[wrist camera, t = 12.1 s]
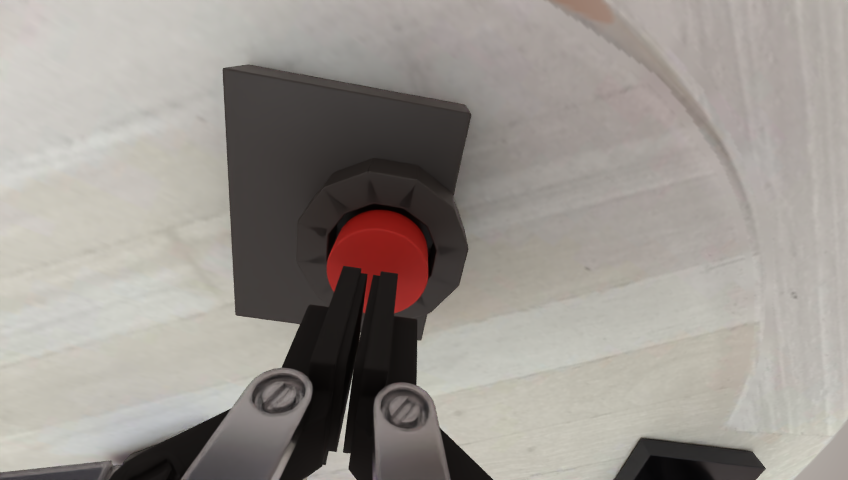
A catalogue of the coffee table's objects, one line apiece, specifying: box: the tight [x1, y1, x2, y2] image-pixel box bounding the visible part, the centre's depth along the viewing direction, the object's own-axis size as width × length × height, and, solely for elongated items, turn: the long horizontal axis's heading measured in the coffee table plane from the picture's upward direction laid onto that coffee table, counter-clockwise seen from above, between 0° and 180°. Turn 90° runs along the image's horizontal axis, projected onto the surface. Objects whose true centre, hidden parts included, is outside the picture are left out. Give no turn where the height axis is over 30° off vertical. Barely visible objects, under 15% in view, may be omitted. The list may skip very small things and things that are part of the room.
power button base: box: [223, 65, 471, 340], centre depth 17 cm, size 11×10×4 cm
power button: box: [327, 210, 428, 313], centre depth 15 cm, size 4×4×2 cm
